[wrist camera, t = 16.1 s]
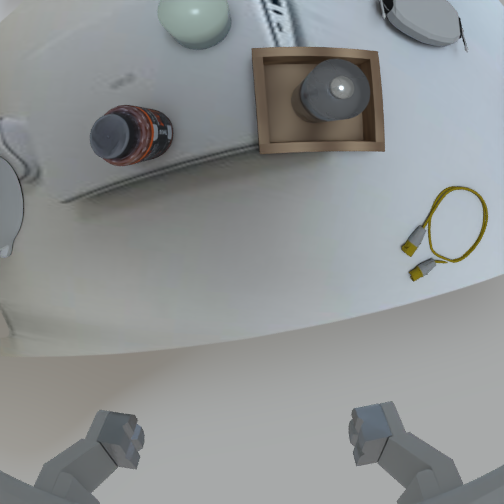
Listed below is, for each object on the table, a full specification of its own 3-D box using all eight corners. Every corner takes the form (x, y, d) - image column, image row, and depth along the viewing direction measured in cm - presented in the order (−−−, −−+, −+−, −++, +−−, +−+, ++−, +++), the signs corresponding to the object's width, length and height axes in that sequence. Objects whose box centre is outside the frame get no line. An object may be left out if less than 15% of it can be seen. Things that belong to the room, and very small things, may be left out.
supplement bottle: (182, 119, 33) (151, 114, 22) (163, 165, 35) (126, 181, 24) (138, 103, 32) (93, 95, 22) (120, 148, 34) (72, 158, 24)
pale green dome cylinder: (173, 53, 30) (158, 41, 24) (170, 5, 27) (157, -14, 22) (233, 45, 30) (229, 29, 24) (229, -4, 27) (224, -25, 22)
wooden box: (259, 151, 34) (260, 154, 30) (252, 59, 30) (251, 48, 26) (368, 148, 34) (384, 151, 29) (362, 60, 30) (377, 51, 25)
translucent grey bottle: (292, 123, 32) (312, 118, 21) (289, 80, 30) (307, 55, 19) (336, 123, 32) (375, 120, 21) (333, 80, 30) (370, 58, 19)
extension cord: (394, 196, 36) (401, 200, 35) (483, 179, 35) (491, 182, 33) (400, 280, 41) (405, 286, 39) (482, 255, 39) (489, 260, 37)
